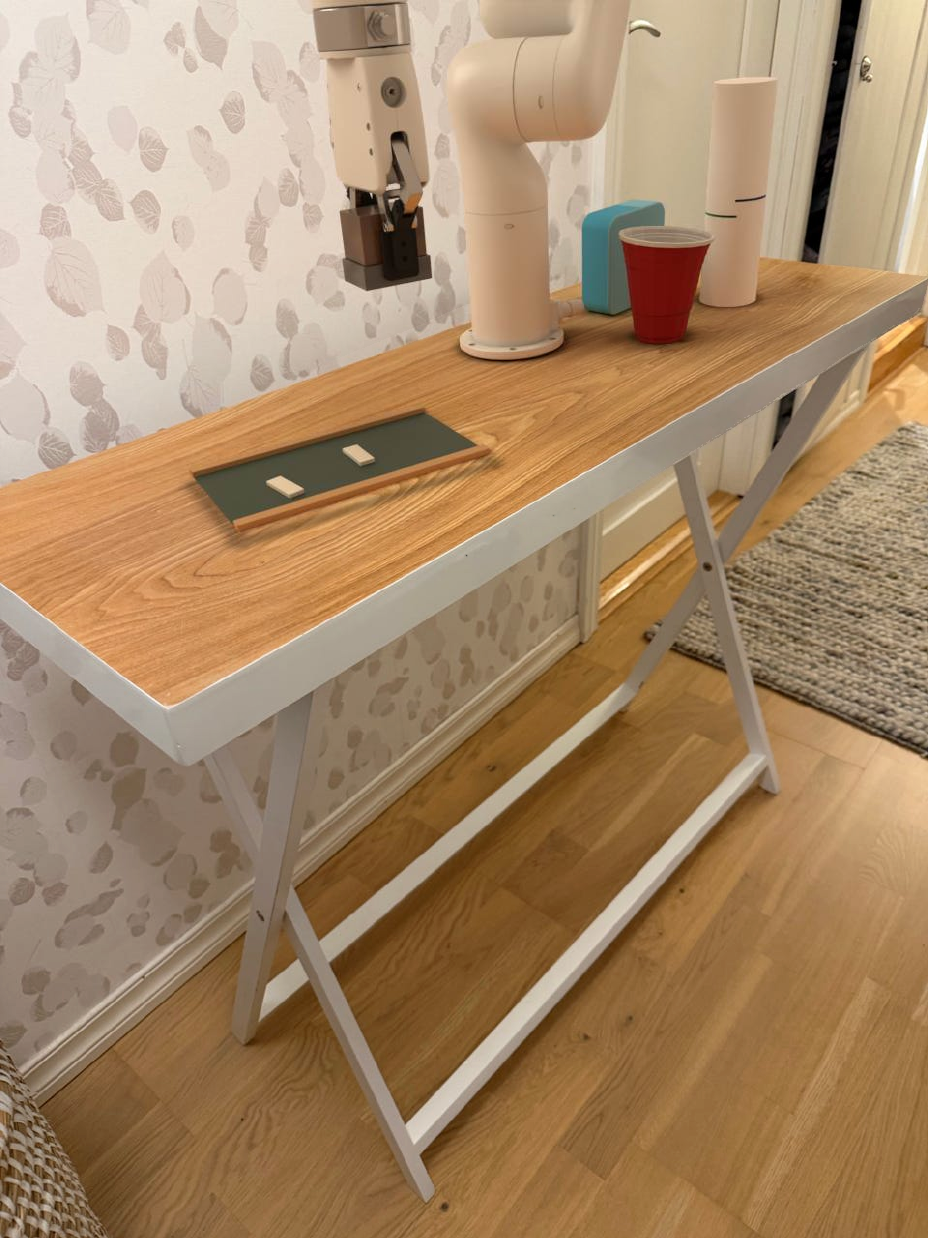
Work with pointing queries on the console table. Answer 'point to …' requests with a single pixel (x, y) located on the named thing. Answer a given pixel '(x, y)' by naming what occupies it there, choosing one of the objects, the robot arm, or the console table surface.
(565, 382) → the console table surface
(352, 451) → the chalk streak
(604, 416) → the console table surface
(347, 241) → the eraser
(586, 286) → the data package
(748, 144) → the cylindrical container
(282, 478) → the chalk streak
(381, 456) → the chalkboard
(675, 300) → the plastic cup
